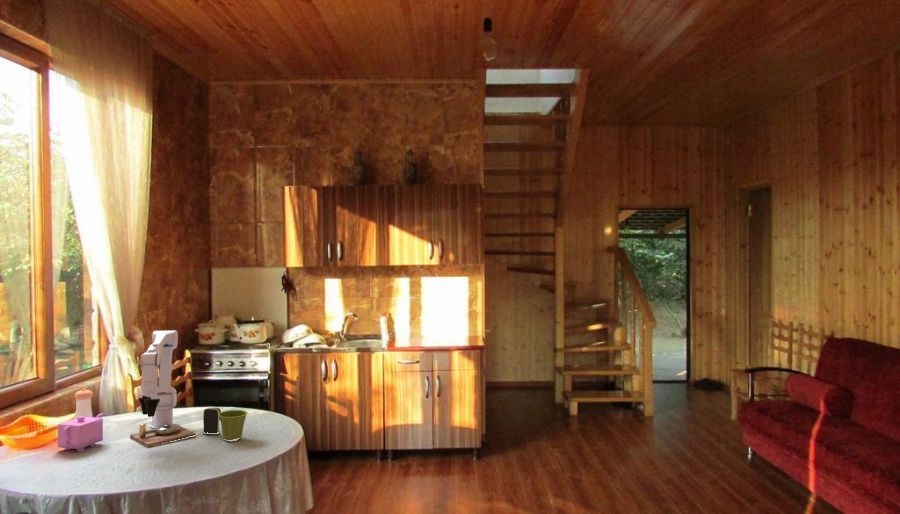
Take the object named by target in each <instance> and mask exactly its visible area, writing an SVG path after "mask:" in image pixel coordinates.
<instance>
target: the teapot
mask: <svg viewBox="0 0 900 514" xmlns="http://www.w3.org/2000/svg"><path fill="white" fill-rule="evenodd" d="M103 415H104V412H101V413H98V414H97V415H96V416H95V417H94V416H92V417H85V416H79V417H77V418H76V419H75V418H73V419H70V420H67V421H64V422H62V423H58V424H57V448H62V449H64V450H63V451H71V450H76V451H77V452H78V453H81V452H84V451H85V448H87V447H88V446H89V448H94V447H96V446H97V444H96V443H98V442H103V439H104V418H103V417H102V416H103Z"/></svg>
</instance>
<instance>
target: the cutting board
mask: <svg viewBox="0 0 900 514" xmlns="http://www.w3.org/2000/svg"><path fill="white" fill-rule="evenodd" d="M129 435H130V436H129V439H130V440H133V441H134V442H136V443H139V444H140V445H142V446H143V445H144V446H143V447H145V446H146V448H147V447H148V448H151V447H150V446H152V447H155V446H154V445H157V446H159V445H158V444H161V445H163V444H162V443H165V442H170V441H174V440H178V439H182V438H186V437H189V436H193V435H196V432H194V431H191V430H190V429H188V428H185V427H183V426H180V431H179V432H177V433H175V434H171V435H155V434H154V433H151V434H146V436H145V437H139V432H137V433H132V434H129ZM196 436H197V435H196ZM170 443H171V442H170Z"/></svg>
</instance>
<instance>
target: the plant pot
mask: <svg viewBox="0 0 900 514" xmlns="http://www.w3.org/2000/svg"><path fill="white" fill-rule="evenodd" d="M247 415H248V411H246V410H243V409H231V410H224V411H221V413H219V414H218V416H219V417H220V420H219V422H220V426H221V433H222V434H221V435H222V440H223V439H226V440H233V439H237V438H240V437H241V436H243V430H244V426H245V420H246V417H247ZM241 438H242V437H241Z"/></svg>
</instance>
